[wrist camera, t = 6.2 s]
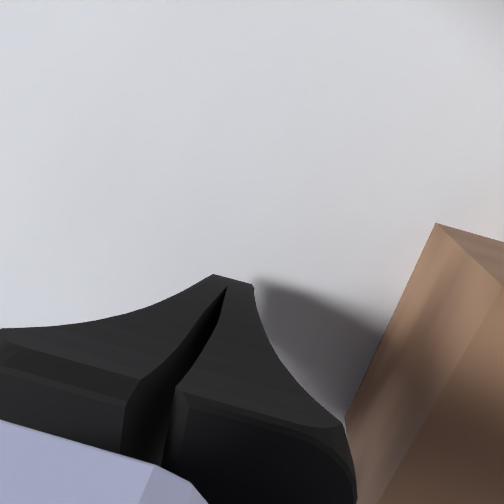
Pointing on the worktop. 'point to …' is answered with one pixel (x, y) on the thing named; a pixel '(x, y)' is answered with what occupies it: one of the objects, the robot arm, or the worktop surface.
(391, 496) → the walnut block
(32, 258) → the worktop surface
